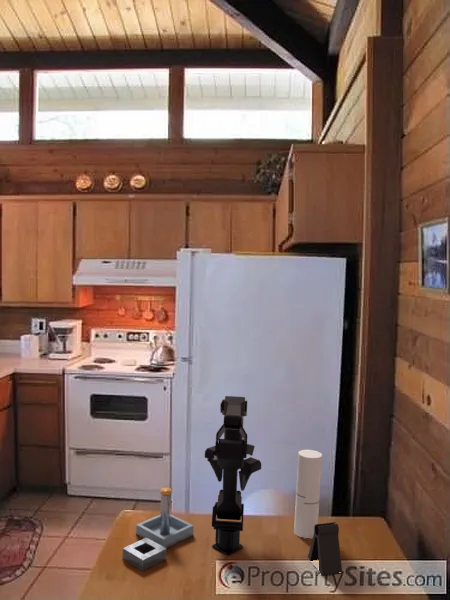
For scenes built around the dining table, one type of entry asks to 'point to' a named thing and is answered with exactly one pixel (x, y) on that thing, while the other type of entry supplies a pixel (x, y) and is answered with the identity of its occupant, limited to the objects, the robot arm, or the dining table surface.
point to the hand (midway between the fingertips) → (231, 485)
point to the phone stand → (326, 548)
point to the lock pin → (165, 511)
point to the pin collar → (141, 560)
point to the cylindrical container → (307, 492)
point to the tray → (177, 534)
